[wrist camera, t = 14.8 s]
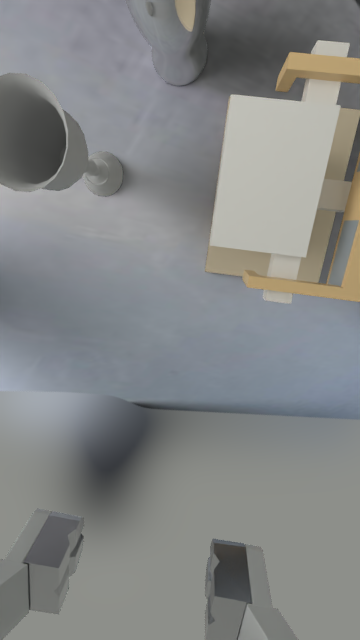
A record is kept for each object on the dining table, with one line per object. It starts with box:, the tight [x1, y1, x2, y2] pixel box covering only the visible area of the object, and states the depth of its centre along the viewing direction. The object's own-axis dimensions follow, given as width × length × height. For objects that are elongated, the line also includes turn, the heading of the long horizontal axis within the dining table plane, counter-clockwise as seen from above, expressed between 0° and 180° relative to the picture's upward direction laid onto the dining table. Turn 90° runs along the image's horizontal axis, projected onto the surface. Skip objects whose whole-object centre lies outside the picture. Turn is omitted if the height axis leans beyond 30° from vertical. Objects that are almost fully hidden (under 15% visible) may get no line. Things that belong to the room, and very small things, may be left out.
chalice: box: [0, 73, 123, 197], centre depth 30 cm, size 7×7×18 cm
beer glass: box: [125, 0, 211, 86], centre depth 28 cm, size 7×7×15 cm
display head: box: [205, 40, 360, 304], centre depth 31 cm, size 14×20×14 cm
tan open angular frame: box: [242, 52, 360, 302], centre depth 27 cm, size 10×17×4 cm, turn 173°
